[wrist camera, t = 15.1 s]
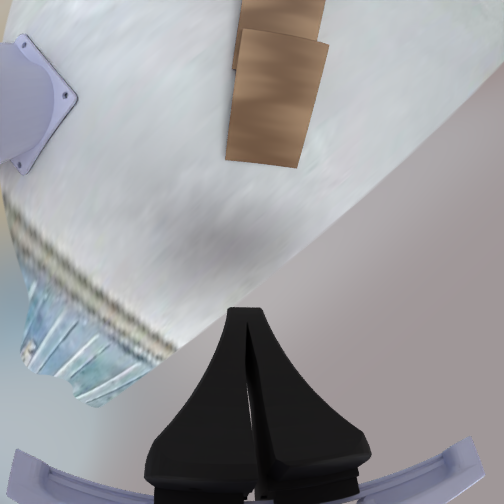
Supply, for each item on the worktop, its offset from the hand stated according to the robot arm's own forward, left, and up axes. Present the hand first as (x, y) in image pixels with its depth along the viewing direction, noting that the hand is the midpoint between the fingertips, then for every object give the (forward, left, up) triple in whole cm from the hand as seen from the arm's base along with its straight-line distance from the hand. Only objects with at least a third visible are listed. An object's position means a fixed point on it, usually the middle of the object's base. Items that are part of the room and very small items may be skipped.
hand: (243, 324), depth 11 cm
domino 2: (-3, +4, -9) cm, 10 cm away
